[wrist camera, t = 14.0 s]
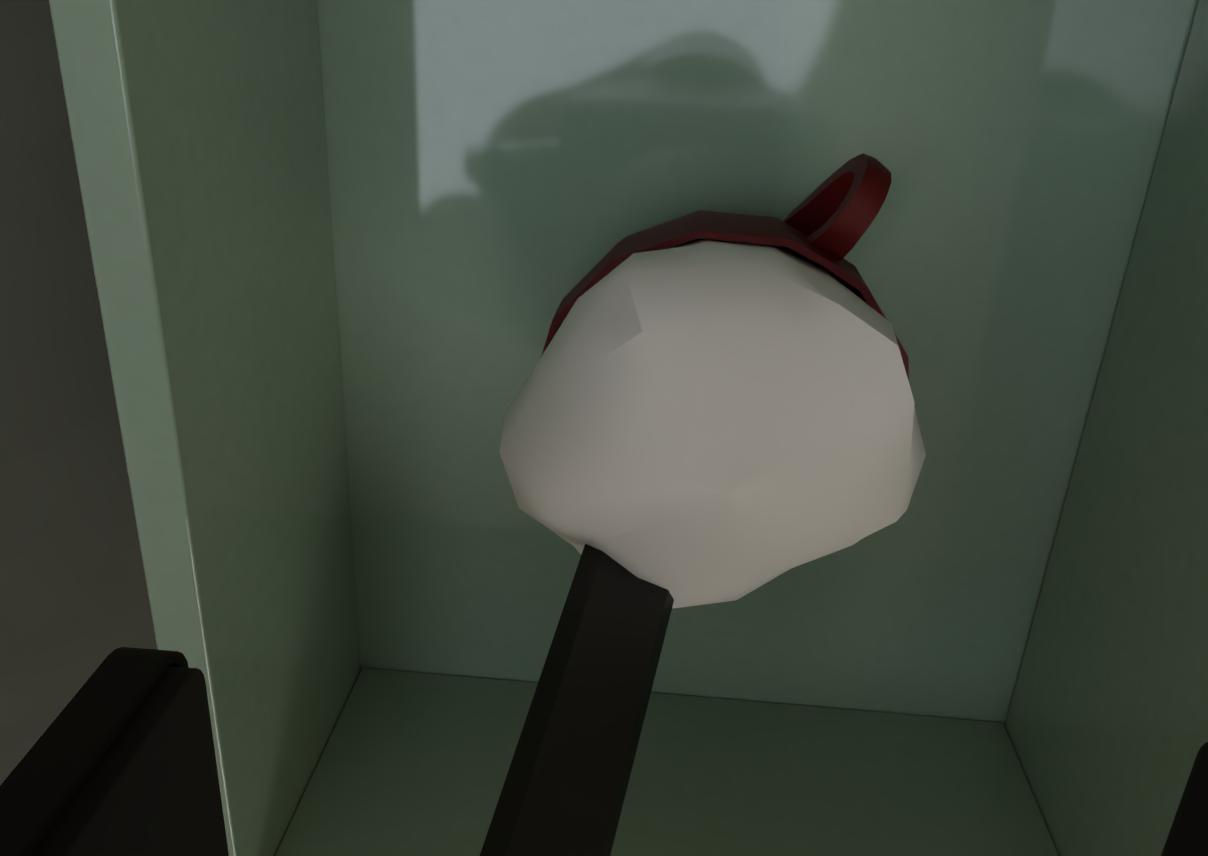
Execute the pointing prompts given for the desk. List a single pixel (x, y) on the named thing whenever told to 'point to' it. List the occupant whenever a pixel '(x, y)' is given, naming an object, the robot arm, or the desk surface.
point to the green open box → (515, 344)
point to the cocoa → (693, 465)
